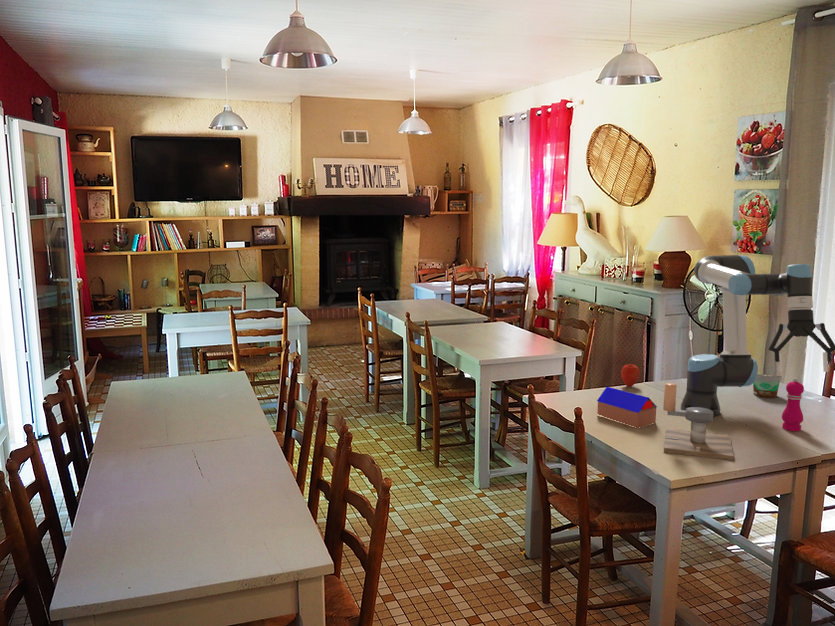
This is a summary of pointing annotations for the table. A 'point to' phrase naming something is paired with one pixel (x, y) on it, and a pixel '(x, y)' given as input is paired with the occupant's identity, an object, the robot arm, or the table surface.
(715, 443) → the post base
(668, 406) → the crank handle
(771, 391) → the food container
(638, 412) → the house
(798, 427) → the pepper mill
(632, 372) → the apple
